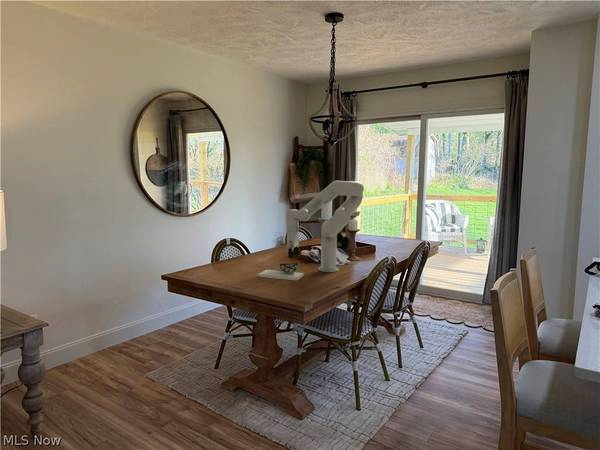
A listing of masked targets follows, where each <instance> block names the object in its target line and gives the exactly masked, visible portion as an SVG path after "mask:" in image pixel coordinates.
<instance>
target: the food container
mask: <svg viewBox="0 0 600 450" xmlns="http://www.w3.org/2000/svg"><path fill="white" fill-rule="evenodd" d="M300 265H301V264H300V262H296V263H291V262H290V263H289V262H288V263H278V267H279V270H280V271H282V272H284V273H286V274H292V273H294V272H296V273H297V271H298V270H299V267H300Z"/></svg>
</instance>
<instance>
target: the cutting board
mask: <svg viewBox="0 0 600 450" xmlns="http://www.w3.org/2000/svg"><path fill="white" fill-rule="evenodd" d="M304 276H305V274H304V272H297V271H296V272H294V273H292V274H286V273H284V272H282V271H281V270H273V269H265V270H263V271H261V272H260V273H258V277H259V278H269V279H279V280H287V281H288V280H289V281H298V280H300V279H301V278H303V277H304Z"/></svg>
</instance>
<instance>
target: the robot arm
mask: <svg viewBox="0 0 600 450" xmlns="http://www.w3.org/2000/svg"><path fill="white" fill-rule="evenodd" d="M364 189H365V188H364V185H363V183H362V182H360V181H350V180H349V181H348V180H346V181H345V180H333V181H332V182H331V183H329V184H328V185H327V186H326V187H325V188H324V189H322V190H321V191H320V192H318V193H317V194H316V195H315V196H314V197H313V198H312V199H311V200H310V201H309V202H308V203H306V204H305V205H304V206H303V207H302V208H300V209H295V208H293V209H292V208H290V209H287V210H286V211H285V216H286V218H285V219H286V220H285V221H286V233H287V234H286V248H287V250H288V252H287V254H288V258H289V259H293V258H294V257H295V255H297V256H298V255H300V248H299V244H300V241H299V240H300V239H299V229H300V225H299V223H300V222H307V221H309V220H310V219H311V217H312V216H313V215H314V214H315V213H316V212H318V210H320V209H322V208H324V207H326V206H327V205H328V204H330V202H332V201H333V200H334V199H335V198H337V197H338V196H346V197H347V196H348V197H347V198H346V199H345V201H344V202H343V203H342V204H341V205H340V206H339V207H338V208H337V209H336V210H335V211H334V214H333V215H332V216H330V218H329V219H327V220H325V221H323V222H322V224H321V248H320V252H321V253H320V266H319V267H318V271H320V272H324V273H336V272H339V267H338V266H337V250H338V249H337V247H338V245H337V244H338V239H337V238H338V234H339V233H340V232H342V230H343V229H344V227H346V226H347V224H349V222H350V221H351V216H352V215H353V214H354V213H355V211H356V210H358V209H359V207H360V206H361V204H362V201H363V197H364Z"/></svg>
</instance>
